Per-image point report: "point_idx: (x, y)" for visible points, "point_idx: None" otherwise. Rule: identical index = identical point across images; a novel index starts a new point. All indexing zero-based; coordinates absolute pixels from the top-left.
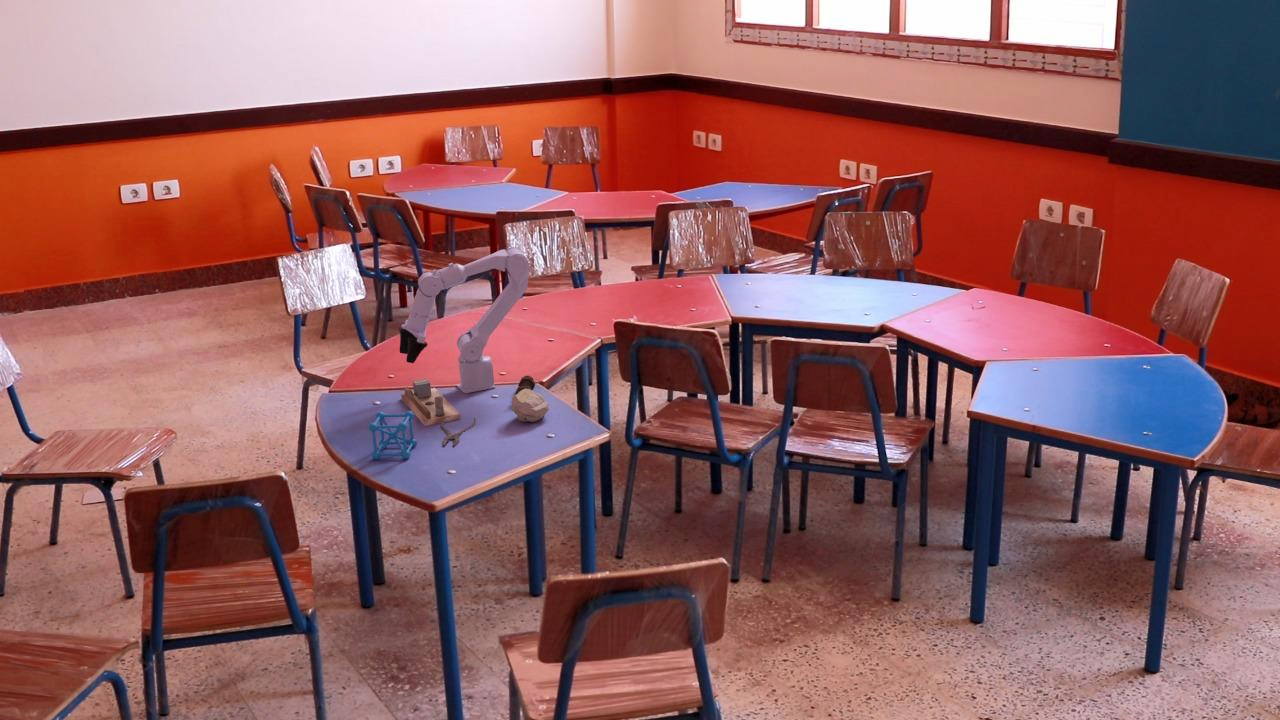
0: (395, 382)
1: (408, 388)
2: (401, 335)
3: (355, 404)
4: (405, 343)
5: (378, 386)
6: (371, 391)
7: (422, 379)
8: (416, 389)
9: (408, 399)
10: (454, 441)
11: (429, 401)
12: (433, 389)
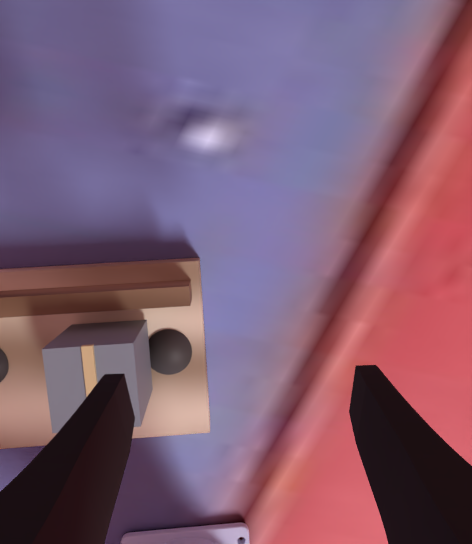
0: (449, 278)
1: (160, 304)
2: (446, 520)
3: (237, 18)
4: (389, 475)
5: (440, 189)
6: (387, 140)
7: (137, 403)
8: (64, 338)
9: (97, 278)
10: None
11: (16, 369)
12: (187, 421)
